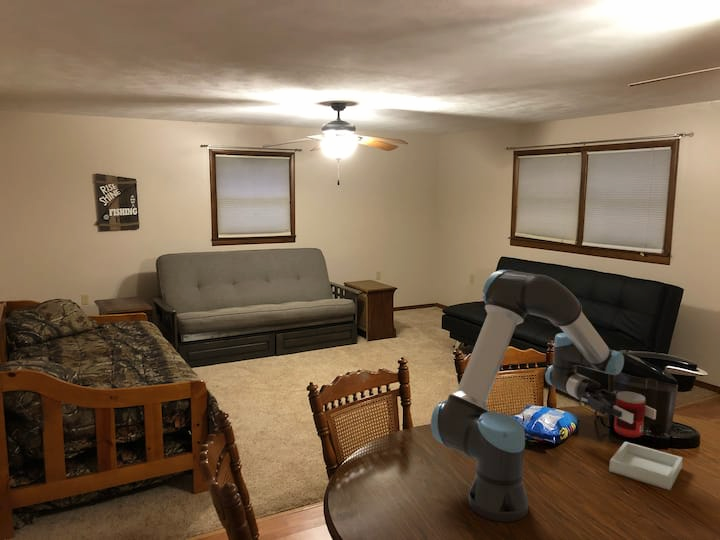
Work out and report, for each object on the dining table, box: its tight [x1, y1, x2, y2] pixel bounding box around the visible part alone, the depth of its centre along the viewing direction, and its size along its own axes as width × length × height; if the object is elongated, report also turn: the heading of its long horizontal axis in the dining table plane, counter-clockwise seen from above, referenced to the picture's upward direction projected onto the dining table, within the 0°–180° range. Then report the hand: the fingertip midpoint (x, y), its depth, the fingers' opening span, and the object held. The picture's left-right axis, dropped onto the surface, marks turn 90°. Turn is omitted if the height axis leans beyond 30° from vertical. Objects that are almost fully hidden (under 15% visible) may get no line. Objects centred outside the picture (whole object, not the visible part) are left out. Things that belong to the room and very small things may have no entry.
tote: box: [608, 441, 684, 491], centre depth 162 cm, size 16×16×4 cm
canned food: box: [613, 390, 646, 438], centre depth 160 cm, size 8×8×11 cm
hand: (643, 416), depth 155 cm, fingers closed on canned food, 8 cm apart
